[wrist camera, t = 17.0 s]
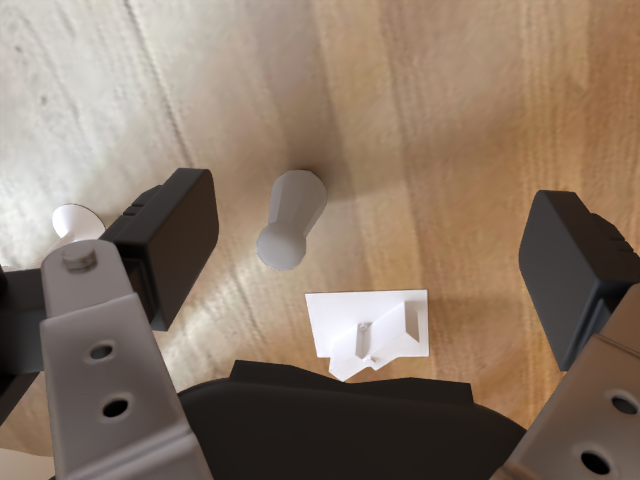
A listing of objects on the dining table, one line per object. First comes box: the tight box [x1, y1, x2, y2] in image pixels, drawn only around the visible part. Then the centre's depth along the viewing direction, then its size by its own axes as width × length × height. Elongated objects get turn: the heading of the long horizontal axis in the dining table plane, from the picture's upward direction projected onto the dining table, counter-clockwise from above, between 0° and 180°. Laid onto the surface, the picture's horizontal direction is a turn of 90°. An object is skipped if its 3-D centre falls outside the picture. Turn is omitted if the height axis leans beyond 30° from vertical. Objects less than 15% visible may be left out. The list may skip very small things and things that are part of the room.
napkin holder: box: [305, 290, 429, 382], centre depth 57 cm, size 15×11×6 cm
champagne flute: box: [1, 204, 105, 272], centre depth 47 cm, size 7×7×24 cm
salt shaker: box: [256, 169, 327, 271], centre depth 44 cm, size 6×6×13 cm
